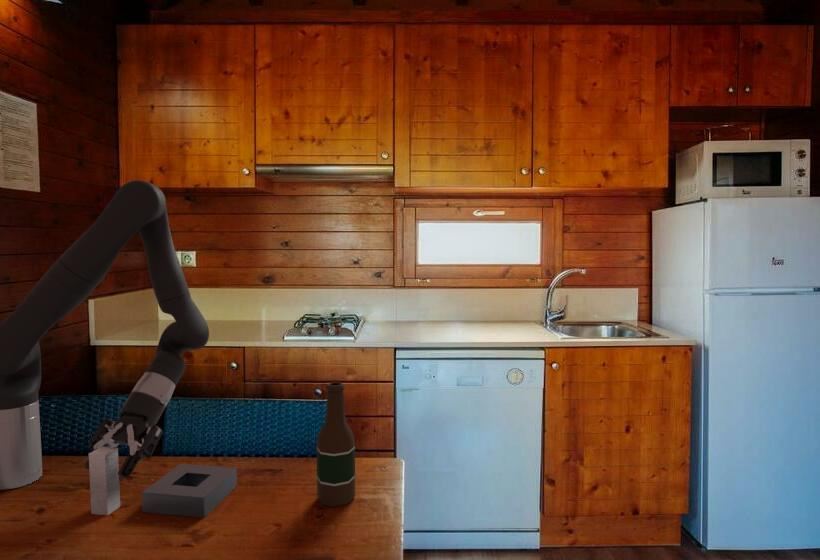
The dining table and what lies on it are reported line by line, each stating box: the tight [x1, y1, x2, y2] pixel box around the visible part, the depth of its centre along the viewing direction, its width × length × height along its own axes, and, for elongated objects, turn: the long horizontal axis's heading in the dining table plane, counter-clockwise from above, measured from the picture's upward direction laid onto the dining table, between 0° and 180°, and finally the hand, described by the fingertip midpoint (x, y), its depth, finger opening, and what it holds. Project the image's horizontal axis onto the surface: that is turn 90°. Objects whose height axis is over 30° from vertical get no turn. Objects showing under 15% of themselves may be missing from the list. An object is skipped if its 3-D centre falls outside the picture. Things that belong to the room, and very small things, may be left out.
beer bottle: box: [316, 381, 356, 508], centre depth 109 cm, size 8×8×24 cm
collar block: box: [141, 463, 238, 518], centre depth 109 cm, size 13×13×4 cm
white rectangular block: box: [88, 446, 121, 516], centre depth 104 cm, size 4×4×12 cm
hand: (105, 473), depth 104 cm, fingers open, 8 cm apart
